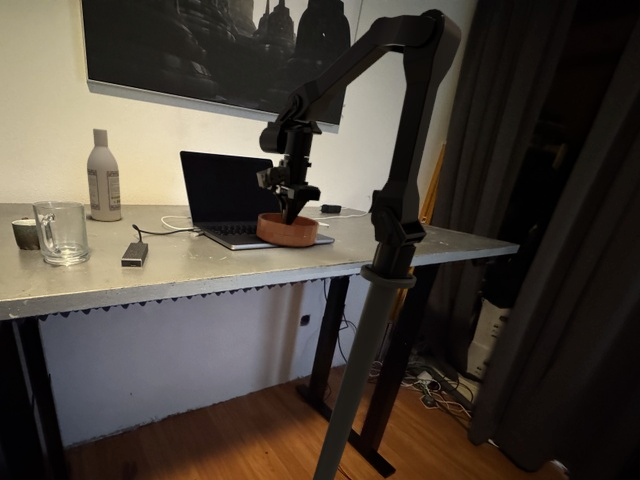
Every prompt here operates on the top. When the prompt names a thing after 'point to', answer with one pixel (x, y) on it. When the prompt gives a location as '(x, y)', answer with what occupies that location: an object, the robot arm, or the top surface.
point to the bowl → (287, 230)
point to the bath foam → (103, 180)
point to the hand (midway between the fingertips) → (286, 225)
